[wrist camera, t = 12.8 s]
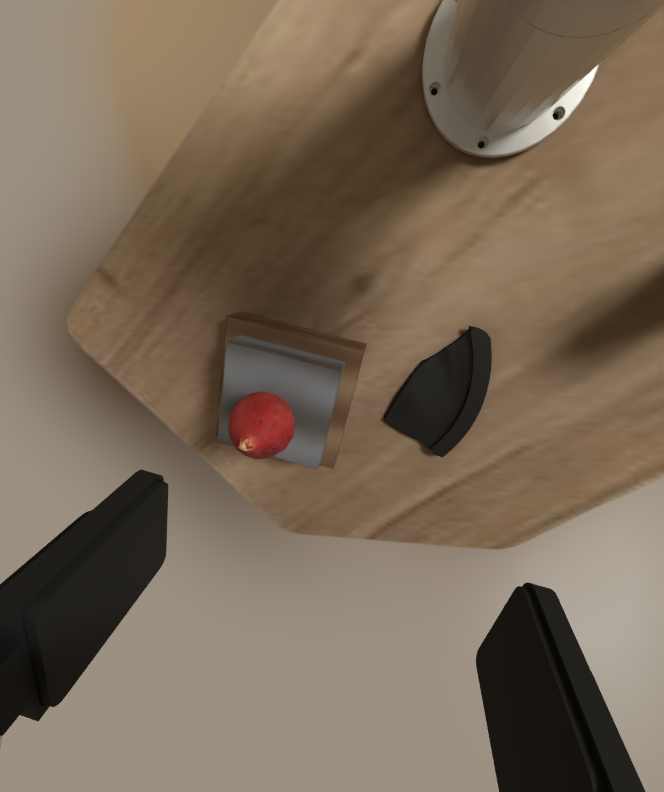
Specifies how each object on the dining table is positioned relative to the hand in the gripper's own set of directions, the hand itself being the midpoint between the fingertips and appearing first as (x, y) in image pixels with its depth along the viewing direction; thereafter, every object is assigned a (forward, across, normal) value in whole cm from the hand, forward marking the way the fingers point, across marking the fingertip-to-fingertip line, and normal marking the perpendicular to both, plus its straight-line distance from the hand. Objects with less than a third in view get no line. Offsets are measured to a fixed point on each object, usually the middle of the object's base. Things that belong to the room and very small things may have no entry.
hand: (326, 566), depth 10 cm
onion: (+24, +8, +9) cm, 27 cm away
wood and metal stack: (+30, +8, +9) cm, 33 cm away
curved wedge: (+31, -9, +6) cm, 33 cm away
